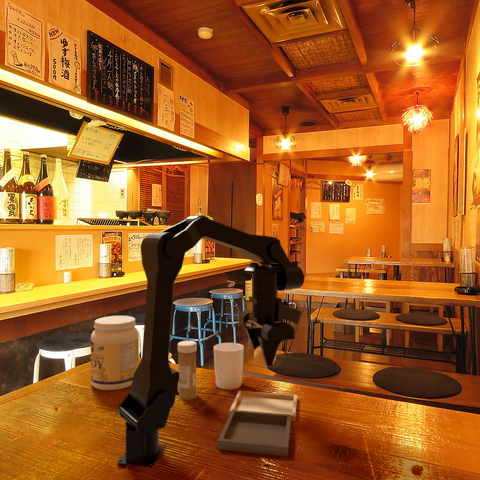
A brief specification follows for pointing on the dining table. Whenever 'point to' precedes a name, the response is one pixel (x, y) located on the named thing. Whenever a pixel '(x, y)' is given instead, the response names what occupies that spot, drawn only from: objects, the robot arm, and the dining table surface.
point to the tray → (265, 403)
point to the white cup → (228, 365)
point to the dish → (256, 433)
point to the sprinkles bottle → (187, 370)
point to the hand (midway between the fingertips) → (264, 362)
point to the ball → (260, 357)
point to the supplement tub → (114, 352)
